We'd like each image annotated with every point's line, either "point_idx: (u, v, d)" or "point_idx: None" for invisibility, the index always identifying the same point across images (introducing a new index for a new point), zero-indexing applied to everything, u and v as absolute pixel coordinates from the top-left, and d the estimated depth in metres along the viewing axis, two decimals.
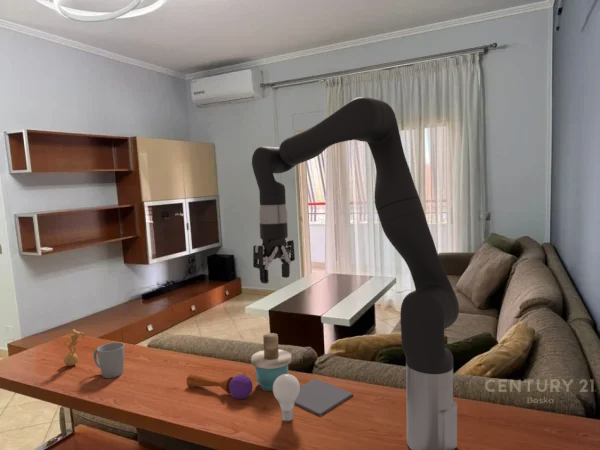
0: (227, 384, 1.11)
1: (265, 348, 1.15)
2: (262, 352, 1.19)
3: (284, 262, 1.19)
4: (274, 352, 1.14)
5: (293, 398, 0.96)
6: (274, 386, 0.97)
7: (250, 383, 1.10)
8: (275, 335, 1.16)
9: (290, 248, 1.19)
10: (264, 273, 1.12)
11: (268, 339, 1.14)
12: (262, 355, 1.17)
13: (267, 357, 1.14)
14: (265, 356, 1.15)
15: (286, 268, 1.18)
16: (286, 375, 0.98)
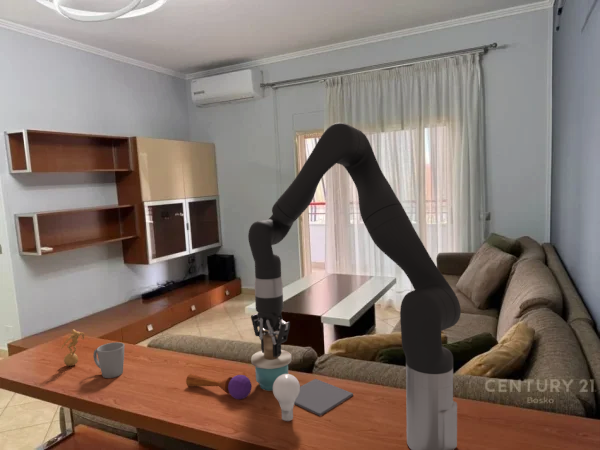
0: (226, 384, 1.11)
1: (265, 348, 1.15)
2: None
3: None
4: None
5: (293, 398, 0.96)
6: (274, 386, 0.97)
7: (249, 383, 1.10)
8: None
9: None
10: None
11: (268, 339, 1.14)
12: (262, 355, 1.17)
13: (267, 357, 1.14)
14: (265, 356, 1.15)
15: None
16: (286, 375, 0.98)
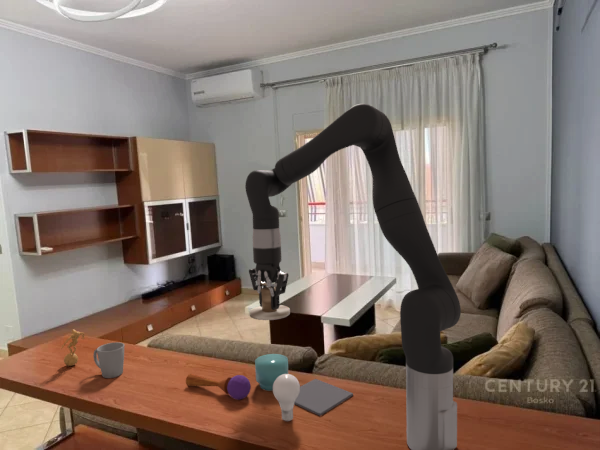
0: (225, 384, 1.11)
1: (263, 301, 1.13)
2: (260, 307, 1.18)
3: None
4: None
5: (293, 398, 0.96)
6: (274, 386, 0.97)
7: (248, 384, 1.09)
8: None
9: None
10: None
11: (266, 291, 1.13)
12: (260, 309, 1.16)
13: (265, 310, 1.13)
14: (263, 309, 1.14)
15: None
16: (286, 375, 0.98)
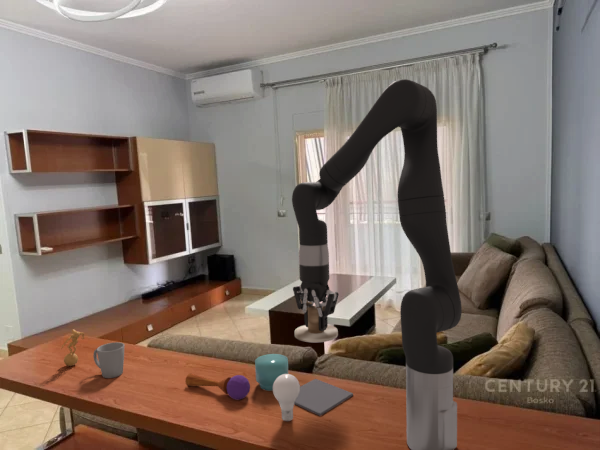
0: (225, 384, 1.11)
1: (310, 321, 1.06)
2: (305, 326, 1.11)
3: None
4: None
5: (293, 398, 0.96)
6: (274, 386, 0.97)
7: (247, 384, 1.09)
8: None
9: (303, 293, 1.11)
10: None
11: (314, 311, 1.05)
12: (306, 329, 1.09)
13: (312, 331, 1.06)
14: (310, 330, 1.06)
15: None
16: (286, 375, 0.98)
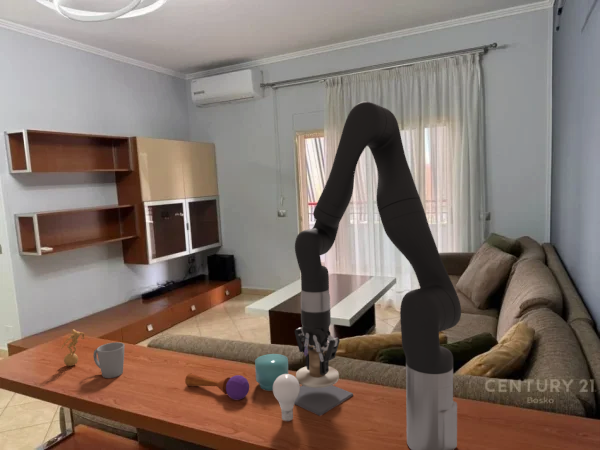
0: (224, 384, 1.10)
1: (311, 365, 1.07)
2: (306, 368, 1.12)
3: None
4: None
5: (293, 398, 0.96)
6: (274, 386, 0.97)
7: (247, 384, 1.09)
8: None
9: (304, 335, 1.12)
10: None
11: (315, 356, 1.07)
12: (307, 372, 1.10)
13: (313, 375, 1.07)
14: (311, 373, 1.08)
15: None
16: (286, 375, 0.98)
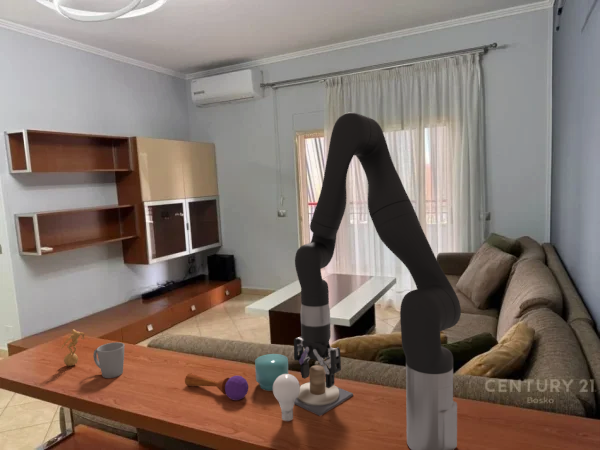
0: (223, 385, 1.10)
1: (312, 382, 1.08)
2: (306, 385, 1.12)
3: (305, 362, 1.11)
4: (322, 386, 1.07)
5: (293, 398, 0.96)
6: (274, 386, 0.97)
7: (246, 384, 1.09)
8: (322, 368, 1.09)
9: (302, 345, 1.13)
10: None
11: (315, 373, 1.07)
12: (307, 389, 1.10)
13: (314, 392, 1.07)
14: (312, 391, 1.08)
15: (308, 367, 1.12)
16: (286, 375, 0.98)
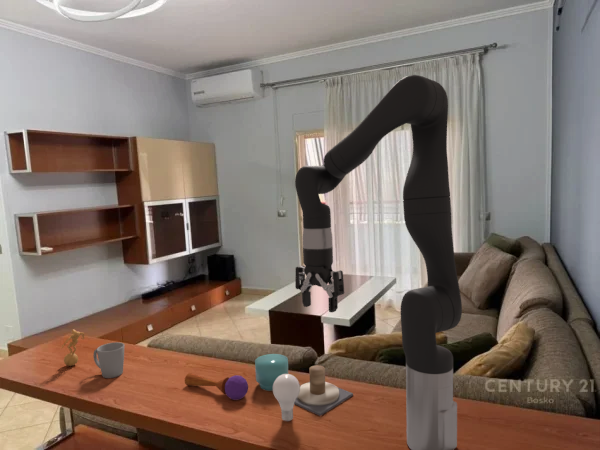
0: (223, 384, 1.11)
1: (312, 382, 1.08)
2: (306, 385, 1.12)
3: (306, 290, 1.10)
4: (322, 386, 1.07)
5: (293, 398, 0.96)
6: (274, 386, 0.97)
7: (245, 384, 1.09)
8: (322, 368, 1.09)
9: (304, 274, 1.12)
10: None
11: (315, 373, 1.07)
12: (307, 389, 1.10)
13: (314, 392, 1.07)
14: (312, 391, 1.08)
15: (309, 295, 1.11)
16: (286, 375, 0.98)
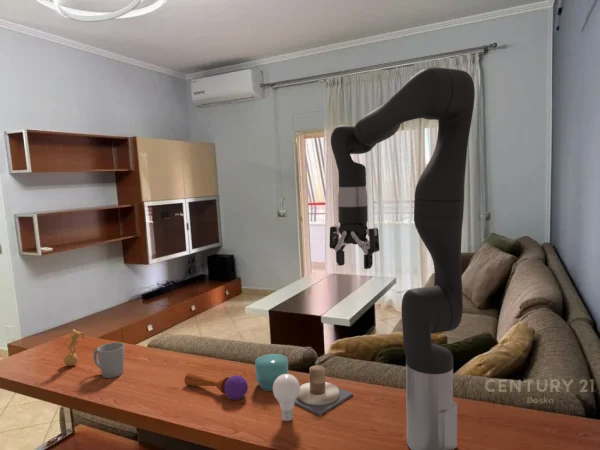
0: (222, 384, 1.11)
1: (312, 382, 1.08)
2: (306, 385, 1.12)
3: (340, 249, 1.13)
4: (322, 386, 1.07)
5: (293, 398, 0.96)
6: (274, 386, 0.97)
7: (245, 384, 1.09)
8: (322, 368, 1.09)
9: (338, 234, 1.14)
10: None
11: (315, 373, 1.07)
12: (307, 389, 1.10)
13: (314, 392, 1.07)
14: (312, 391, 1.08)
15: (343, 255, 1.13)
16: (286, 375, 0.98)
